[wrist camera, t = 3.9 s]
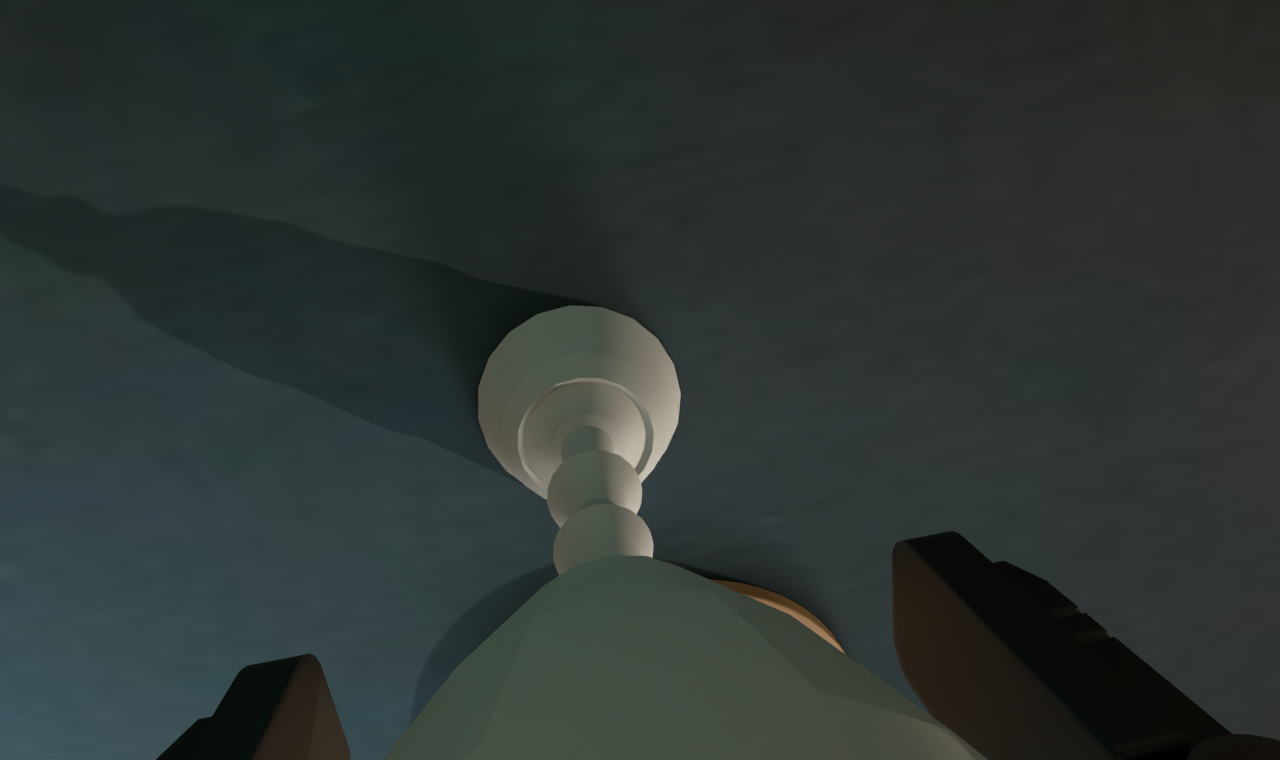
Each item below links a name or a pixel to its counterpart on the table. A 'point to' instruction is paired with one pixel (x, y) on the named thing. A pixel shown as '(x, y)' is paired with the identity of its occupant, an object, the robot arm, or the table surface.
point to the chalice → (637, 596)
